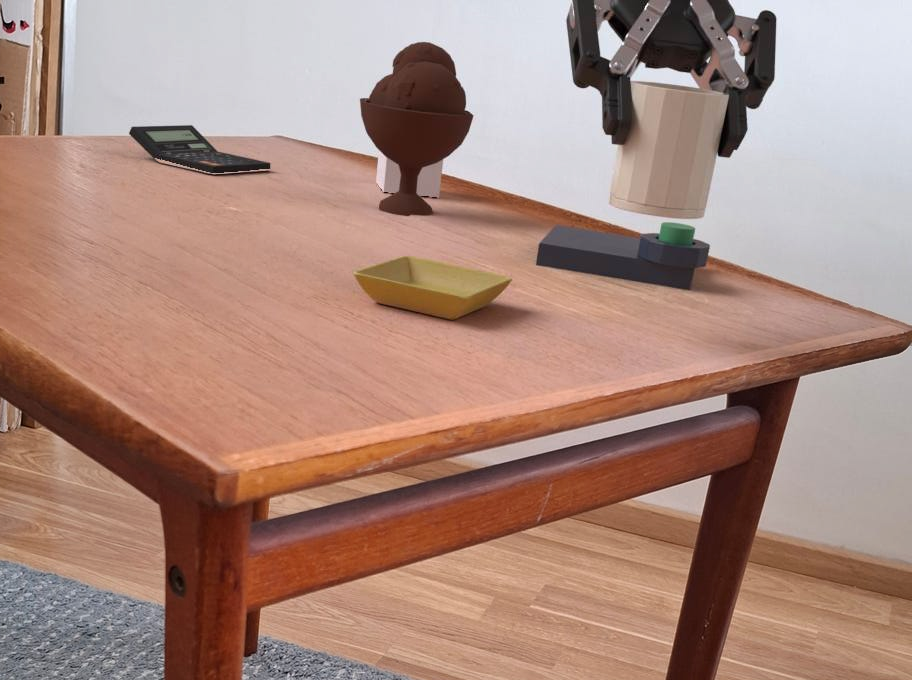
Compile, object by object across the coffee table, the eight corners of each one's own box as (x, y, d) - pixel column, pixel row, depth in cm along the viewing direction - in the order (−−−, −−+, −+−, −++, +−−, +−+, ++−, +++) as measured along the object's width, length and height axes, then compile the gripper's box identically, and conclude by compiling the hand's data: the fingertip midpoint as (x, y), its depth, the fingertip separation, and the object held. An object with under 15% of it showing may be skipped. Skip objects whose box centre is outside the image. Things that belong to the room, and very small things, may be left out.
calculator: (212, 175, 127) (213, 144, 125) (128, 156, 132) (128, 125, 130) (270, 171, 134) (271, 141, 133) (188, 153, 139) (189, 124, 138)
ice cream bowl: (334, 197, 123) (347, 31, 117) (436, 203, 128) (454, 43, 121) (371, 218, 115) (387, 40, 108) (479, 224, 119) (501, 53, 113)
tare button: (692, 245, 104) (695, 225, 103) (690, 250, 101) (695, 230, 101) (658, 239, 104) (662, 220, 104) (656, 244, 102) (660, 225, 101)
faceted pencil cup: (705, 210, 85) (729, 92, 82) (702, 223, 79) (728, 97, 76) (613, 196, 86) (633, 79, 83) (604, 208, 80) (625, 83, 77)
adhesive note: (439, 198, 131) (446, 138, 129) (383, 193, 130) (389, 132, 127) (429, 189, 137) (435, 130, 134) (375, 183, 135) (381, 124, 132)
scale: (703, 270, 112) (711, 230, 110) (699, 295, 101) (709, 251, 100) (552, 245, 114) (558, 206, 112) (533, 267, 103) (540, 224, 102)
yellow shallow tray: (462, 328, 82) (466, 296, 81) (347, 301, 85) (350, 270, 84) (510, 307, 89) (515, 277, 88) (403, 283, 92) (406, 254, 91)
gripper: (578, -125, 80) (581, 88, 75) (791, -95, 81) (807, 115, 77) (551, -32, 87) (552, 169, 82) (748, -6, 89) (760, 192, 84)
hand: (675, 142), depth 79 cm, fingers closed on faceted pencil cup, 6 cm apart
